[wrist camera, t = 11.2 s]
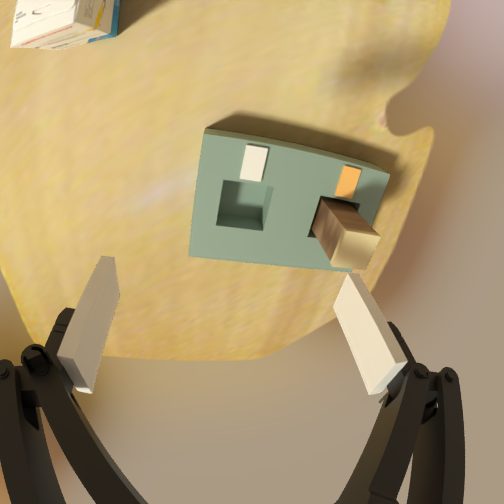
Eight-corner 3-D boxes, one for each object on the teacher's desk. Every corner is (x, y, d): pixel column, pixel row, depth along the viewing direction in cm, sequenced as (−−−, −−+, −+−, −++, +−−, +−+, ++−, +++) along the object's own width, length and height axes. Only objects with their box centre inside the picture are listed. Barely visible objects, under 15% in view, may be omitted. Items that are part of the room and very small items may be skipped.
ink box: (123, -17, 19) (89, -48, 10) (117, 37, 24) (76, 22, 14) (65, -1, 18) (18, -18, 9) (60, 51, 23) (8, 49, 13)
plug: (315, 191, 38) (346, 230, 29) (344, 197, 39) (380, 236, 29) (306, 221, 40) (332, 266, 31) (334, 225, 41) (365, 269, 32)
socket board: (205, 128, 32) (203, 134, 28) (374, 164, 37) (391, 175, 33) (190, 239, 41) (188, 258, 37) (340, 256, 45) (352, 274, 41)
